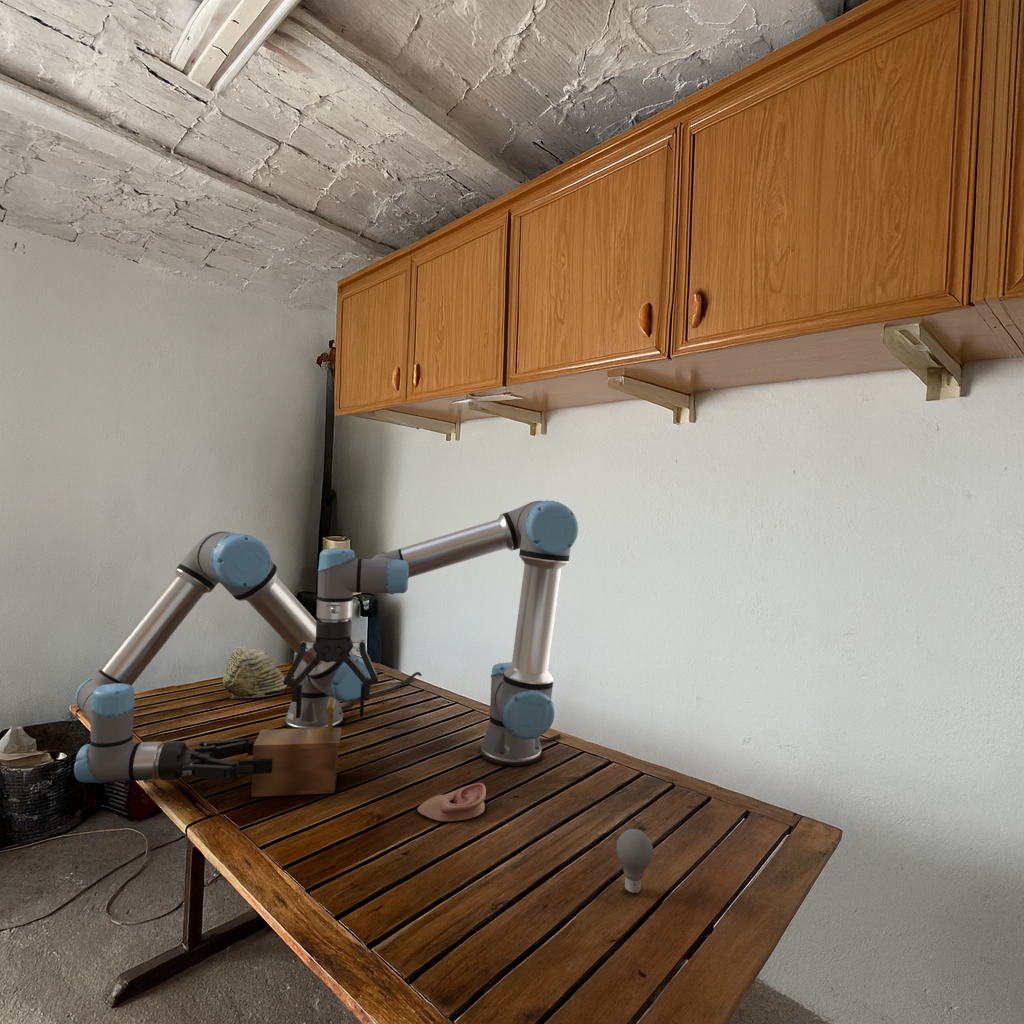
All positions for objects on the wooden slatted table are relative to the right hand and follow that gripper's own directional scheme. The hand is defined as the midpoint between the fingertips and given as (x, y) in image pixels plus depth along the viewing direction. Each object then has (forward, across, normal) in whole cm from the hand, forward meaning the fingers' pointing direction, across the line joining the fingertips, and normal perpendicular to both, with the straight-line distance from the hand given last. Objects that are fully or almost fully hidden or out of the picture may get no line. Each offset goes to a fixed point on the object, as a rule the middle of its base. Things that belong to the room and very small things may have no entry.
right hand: (330, 715), depth 139 cm
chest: (+15, -7, 0) cm, 17 cm away
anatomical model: (+15, +26, -14) cm, 33 cm away
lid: (+5, -6, 0) cm, 8 cm away
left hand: (+9, -11, 0) cm, 14 cm away
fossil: (+15, -27, +65) cm, 72 cm away
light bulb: (+15, +53, -46) cm, 71 cm away
